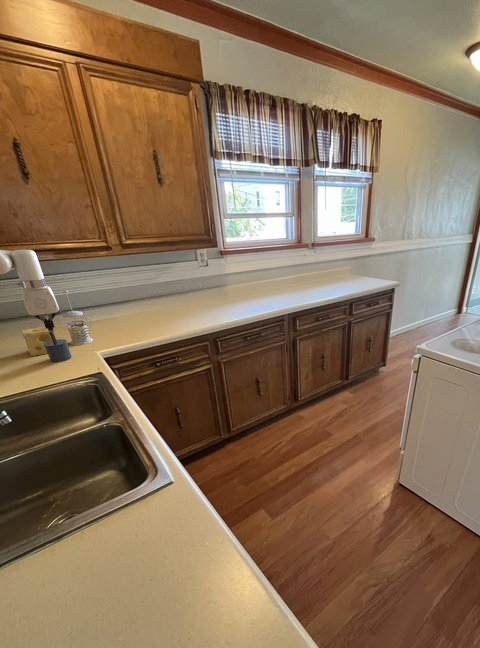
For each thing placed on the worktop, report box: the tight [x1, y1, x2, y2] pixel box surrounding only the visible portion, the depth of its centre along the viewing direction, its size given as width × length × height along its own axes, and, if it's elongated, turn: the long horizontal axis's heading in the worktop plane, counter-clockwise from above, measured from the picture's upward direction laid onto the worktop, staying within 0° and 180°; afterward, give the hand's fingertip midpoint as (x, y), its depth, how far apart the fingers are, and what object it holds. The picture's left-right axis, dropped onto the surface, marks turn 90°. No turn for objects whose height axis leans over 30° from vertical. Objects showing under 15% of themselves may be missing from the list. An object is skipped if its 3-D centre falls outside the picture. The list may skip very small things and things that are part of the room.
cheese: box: [21, 326, 52, 357], centre depth 148 cm, size 10×11×10 cm
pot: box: [45, 342, 73, 363], centre depth 139 cm, size 8×8×8 cm
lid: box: [43, 329, 68, 347], centre depth 136 cm, size 8×8×6 cm
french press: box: [62, 289, 94, 346], centre depth 156 cm, size 10×12×25 cm
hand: (51, 329), depth 134 cm, fingers closed
